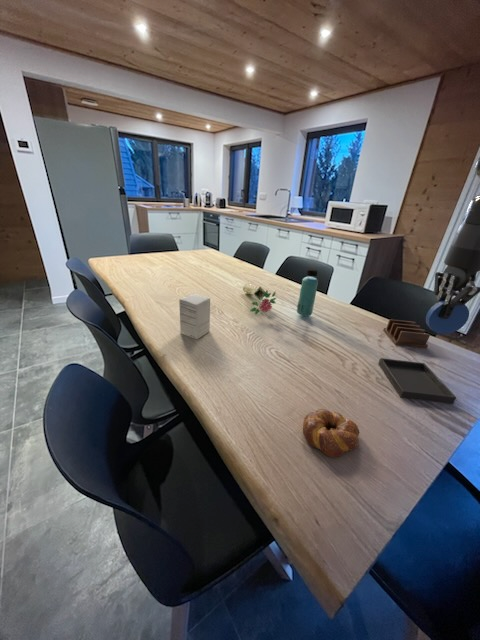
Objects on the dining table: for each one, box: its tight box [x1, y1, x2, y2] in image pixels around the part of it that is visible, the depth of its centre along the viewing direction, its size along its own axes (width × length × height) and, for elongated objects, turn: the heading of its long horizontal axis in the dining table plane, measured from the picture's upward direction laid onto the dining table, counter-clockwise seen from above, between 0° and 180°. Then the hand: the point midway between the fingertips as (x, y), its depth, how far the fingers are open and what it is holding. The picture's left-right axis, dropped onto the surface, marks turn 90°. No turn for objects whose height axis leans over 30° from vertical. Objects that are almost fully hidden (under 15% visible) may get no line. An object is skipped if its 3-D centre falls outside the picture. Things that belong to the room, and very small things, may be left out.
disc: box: [425, 298, 470, 335], centre depth 66 cm, size 9×2×9 cm, turn 84°
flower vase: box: [242, 283, 277, 315], centre depth 113 cm, size 12×12×35 cm
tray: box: [378, 357, 457, 405], centre depth 74 cm, size 13×15×2 cm
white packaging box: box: [178, 292, 211, 340], centre depth 88 cm, size 7×7×13 cm
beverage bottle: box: [296, 268, 319, 317], centre depth 106 cm, size 6×7×20 cm
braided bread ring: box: [302, 408, 361, 458], centre depth 55 cm, size 12×11×4 cm
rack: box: [383, 318, 431, 349], centre depth 97 cm, size 11×11×5 cm
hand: (440, 316), depth 66 cm, fingers closed on disc, 1 cm apart
